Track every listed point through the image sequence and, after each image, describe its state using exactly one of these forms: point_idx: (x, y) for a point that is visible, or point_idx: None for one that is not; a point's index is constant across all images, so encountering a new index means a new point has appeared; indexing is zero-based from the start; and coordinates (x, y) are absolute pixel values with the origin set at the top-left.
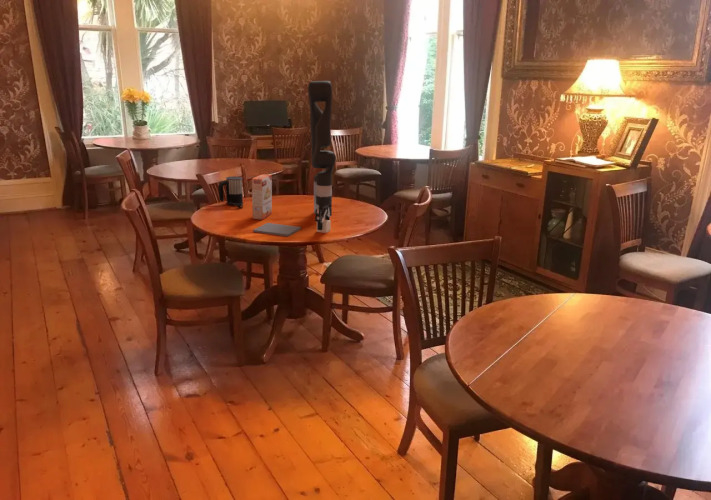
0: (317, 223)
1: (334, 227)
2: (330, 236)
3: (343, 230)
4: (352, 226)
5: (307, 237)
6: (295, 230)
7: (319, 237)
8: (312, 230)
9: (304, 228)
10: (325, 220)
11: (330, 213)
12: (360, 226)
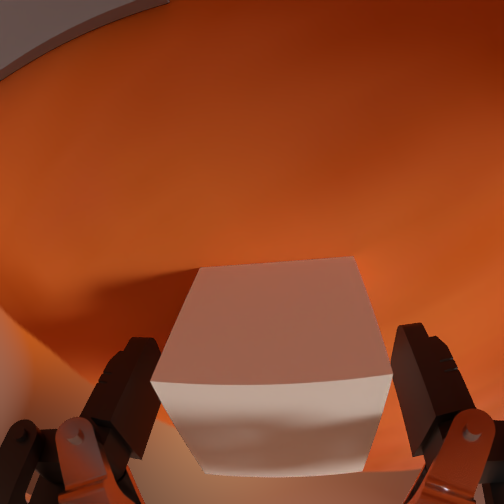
0: (167, 363)
1: (460, 345)
2: (157, 414)
3: (379, 428)
4: (495, 410)
5: (4, 280)
6: (6, 67)
7: (73, 360)
8: (210, 188)
9: (238, 18)
10: (323, 447)
11: (488, 495)
12: None
